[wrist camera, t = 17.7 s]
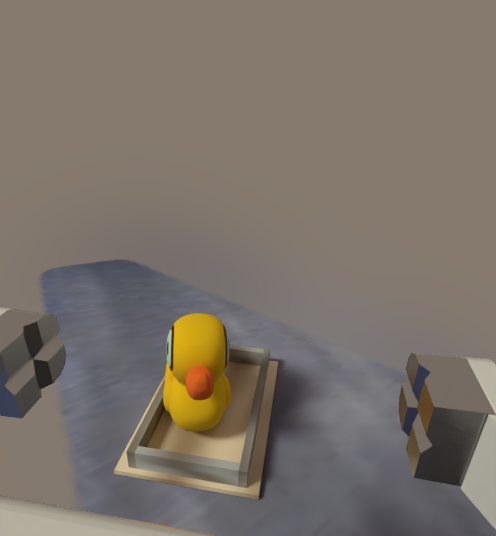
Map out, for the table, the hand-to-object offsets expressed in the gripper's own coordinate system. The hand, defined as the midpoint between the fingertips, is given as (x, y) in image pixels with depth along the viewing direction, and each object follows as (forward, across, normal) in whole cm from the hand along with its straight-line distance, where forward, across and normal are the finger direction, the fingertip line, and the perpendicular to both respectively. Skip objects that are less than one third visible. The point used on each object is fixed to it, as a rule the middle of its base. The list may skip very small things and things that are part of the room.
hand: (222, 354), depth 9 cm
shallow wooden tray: (+17, +5, +20) cm, 27 cm away
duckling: (+16, +6, +20) cm, 26 cm away
